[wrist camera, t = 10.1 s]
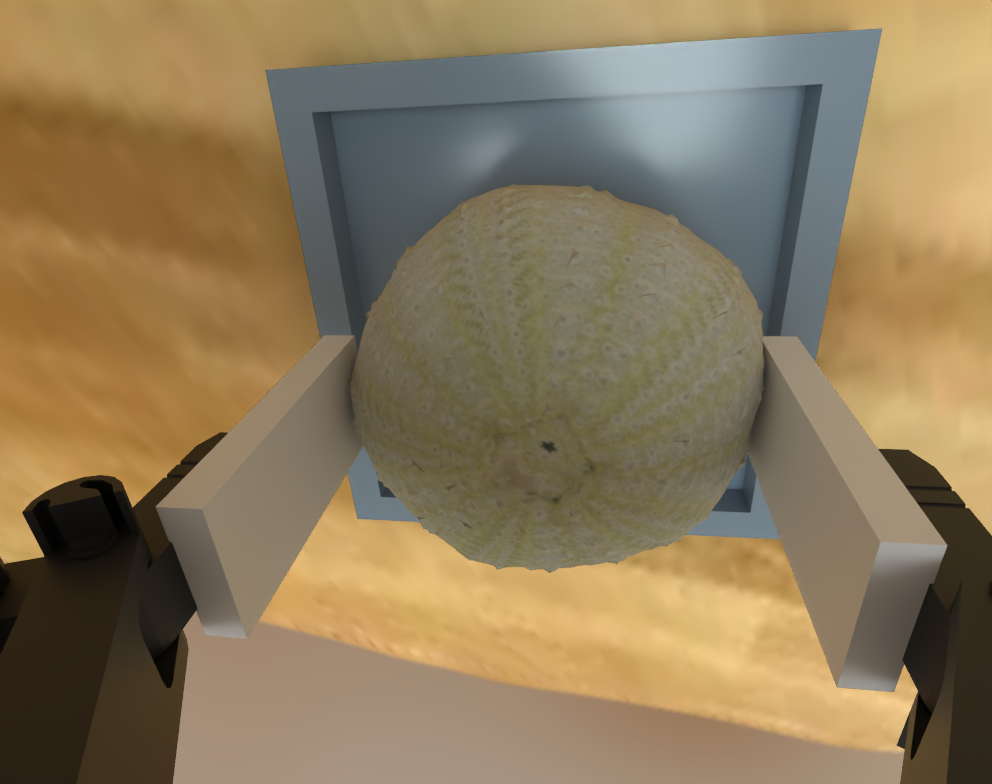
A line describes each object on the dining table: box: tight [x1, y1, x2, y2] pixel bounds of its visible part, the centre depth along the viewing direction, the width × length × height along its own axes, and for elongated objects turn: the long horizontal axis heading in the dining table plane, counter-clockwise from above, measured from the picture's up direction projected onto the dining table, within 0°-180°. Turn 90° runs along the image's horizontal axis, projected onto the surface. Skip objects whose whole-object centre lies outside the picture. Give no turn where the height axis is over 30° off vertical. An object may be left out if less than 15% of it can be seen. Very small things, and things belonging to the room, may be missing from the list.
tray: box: [265, 29, 882, 539], centre depth 18 cm, size 14×14×2 cm
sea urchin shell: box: [348, 184, 766, 573], centre depth 14 cm, size 9×8×8 cm
